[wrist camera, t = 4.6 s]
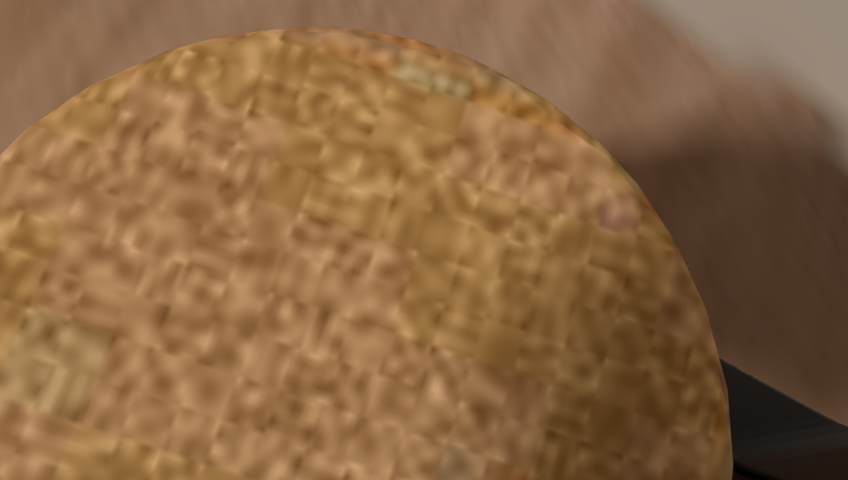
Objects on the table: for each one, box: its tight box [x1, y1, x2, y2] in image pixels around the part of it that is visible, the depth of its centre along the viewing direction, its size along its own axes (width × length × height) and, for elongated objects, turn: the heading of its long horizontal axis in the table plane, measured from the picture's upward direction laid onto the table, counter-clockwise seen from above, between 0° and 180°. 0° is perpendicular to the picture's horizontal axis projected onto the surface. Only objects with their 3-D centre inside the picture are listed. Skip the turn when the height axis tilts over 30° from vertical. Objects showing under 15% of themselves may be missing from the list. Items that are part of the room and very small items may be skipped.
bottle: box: [0, 27, 733, 480], centre depth 10 cm, size 6×6×15 cm
